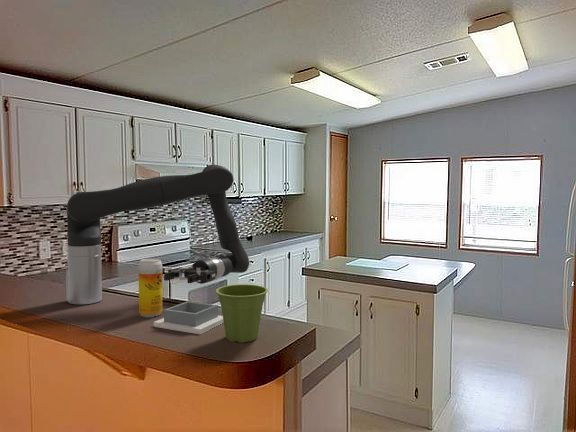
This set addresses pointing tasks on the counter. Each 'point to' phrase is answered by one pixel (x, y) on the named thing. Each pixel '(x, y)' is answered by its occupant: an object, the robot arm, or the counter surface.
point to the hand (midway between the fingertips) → (176, 278)
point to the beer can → (150, 287)
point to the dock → (190, 317)
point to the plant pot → (241, 310)
